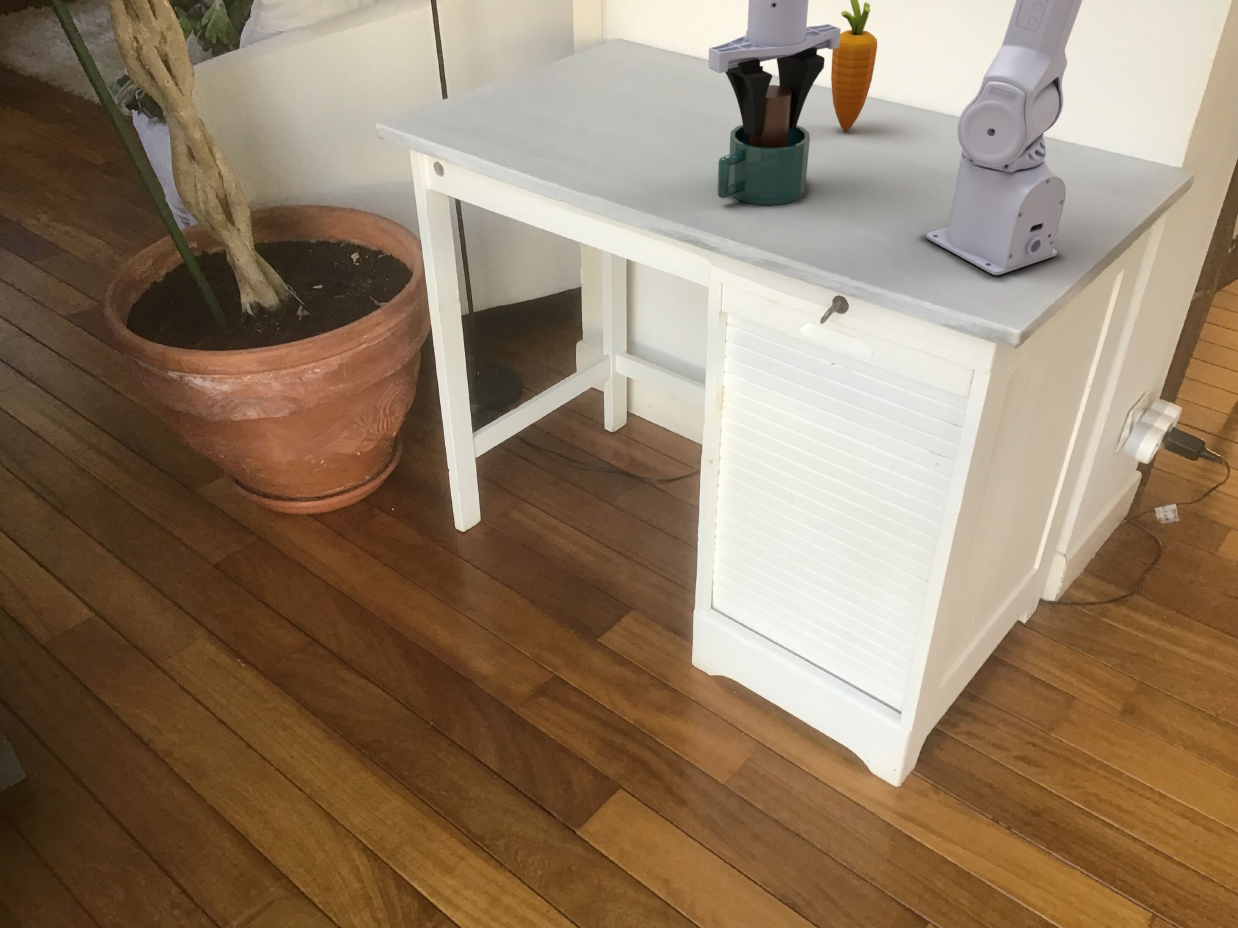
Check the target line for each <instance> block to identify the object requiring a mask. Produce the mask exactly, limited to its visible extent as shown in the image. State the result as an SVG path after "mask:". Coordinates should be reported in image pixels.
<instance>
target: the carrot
mask: <svg viewBox="0 0 1238 928" xmlns="http://www.w3.org/2000/svg"><path fill="white" fill-rule="evenodd" d="M849 1H850V4H851V9H852V12H853V15H852V13H851V12H849V11H847V10H844V11H841V13H840V15H841V16H842V17H843V18H845V19H846V20H847V22H848V24H849V26H850V27H851V29H847V30H844V31H843V32H840V40H839V48H836V49H832V55H831V73H830V81H831V83H830V84H831V94H832V95H831V97H832V104H833V108H834V113H835V116H836V118H837V120H838V123H839V126H840V128H841V129H842V130H843V131H844V132H848V131H849V130H850V129H851V128H852V127H853V126H854V124H855V122H856V121H857V120H858V117H859V116H860V114H861V112H862V110H863V108H864V106H865V103H866V100H867V97H868V95H869V90H870V87H871V84H872V80H873V77H874V76H873V75H874V70H875V64H876V58H877V57H876V56H877V50H878V39H877V37H875V35H874V34H872V33H871V32H869V31H867V30H864V29H865V26H866V24H867V21H868V19H869V14H870V12H871V5H870V4H869V2H864V3H863V8H862V12H861V7H860V2H859V0H849Z"/></svg>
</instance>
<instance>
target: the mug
mask: <svg viewBox="0 0 1238 928" xmlns="http://www.w3.org/2000/svg"><path fill="white" fill-rule="evenodd" d="M810 139H811V135H810V131H808V130H807V129H805V128H804V127H803V126H800V125H798V124H797V125H796V128H794V129H790V128H789V138H788V147H781V148H761V147H755V146H750V135H748V134H746V133H744V129H743V124H741V125H737V126H735V127H734V128H733V129H732V130H731V131H730V137H729V154H727V155H724V156H722V157H720V158H719V159H718V170H717V196H718V198H720V199H726V198H728V197H731V196H732V197H733V198H735V199H736V200H738V201H741V202H744V203H748V204H752V205H760V206H778V205H785V204H789V203H793V202H794V201H796V200H799V199H800V198H801V197H802V196H803V195H804V194H805V191H806V185H807V174H808V163H809V152H810V150H809V149H810V143H811V142H810Z"/></svg>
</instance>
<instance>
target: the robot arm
mask: <svg viewBox="0 0 1238 928" xmlns="http://www.w3.org/2000/svg"><path fill="white" fill-rule="evenodd" d="M1082 3H1083V0H1015V3H1014V6H1013V9H1012V12H1011V15H1010V18H1009V22H1008V26H1007V28H1006V32H1005V35H1004V38H1003V41H1002V44H1001V46H1000V48H999V50H998V51H997V53H996V55H995V57H994V59H993V60H992V62H991V64H990V66H988V69H987V70H986V72H985V74H984V76H983V79H982V82H981V86H980V88H979V90H978V92H977V94H976V95H975V97H974V98H973V99H972V100H971V101H970V102H969V103H968V104H967V105H966V106H965V108H964V109H963V111H962V112H961V115H960V116H959V119H958V123H957V138H958V142H959V145H960V147H961V150H962V151H961V153H960V154H961V155H960V161H959V165H958V171H957V175H956V176H957V177H956V181H955V186H954V193H953V198H952V204H951V209H950V214H949V219H948V225H947V226H946V227H942V228H938V229H936V230H933V231H929V232H927V233H926V239H927V240H929V241H931V242H933V243H934V244H936V245H938V246H940V247H941V248H944V249H945V250H947V251H949V252H951V253H953V254H955V255H957V256H958V257H960V258H962V259H964V260H965V261H967V262H969V263H971V264H972V265H974V266H976V267H978V268H980V269H982V270H984V271H986V272H987V273H989V274H991V275H993V276H1000V275H1003V274H1006V273H1009V272H1013V271H1015V270H1017V269H1021V268H1024V267H1027V266H1029V265H1033V264H1036V263H1039V262H1042V261H1045V260H1047V259H1051V258H1053V257H1056V256H1057V254H1058V250H1057V249H1056V248H1054V246H1055V245H1054V244H1055V240H1056V237H1057V233H1058V230H1059V225H1060V221H1061V217H1062V213H1063V210H1064V205H1065V203H1066V195H1067V188H1066V184H1065V182H1064V181H1063V179H1062V178H1061V177H1059V176H1058V175H1056V174H1055V173H1054V172H1052V170H1051V169H1050V168H1049V166H1048V165H1047V163H1046V160H1045V159H1046V156H1047V151H1046V144H1045V139H1044V133H1045V132H1047V131H1048V130H1050V129H1051V128H1052V127H1053V126H1054V125H1055V124H1056V123H1057V121H1058V120H1059V118H1060V117H1061V115H1062V111H1063V107H1064V93H1063V78H1064V74H1065V71H1066V69H1067V66H1068V59H1067V54H1066V47H1067V45H1068V41H1069V39H1070V36H1071V34H1072V30H1073V28H1074V25H1075V22H1076V19H1077V17H1078V14H1079V12H1080V8H1081V6H1082ZM808 11H809V0H748V9H747V12H748V13H747V28H746V31H745V35H742V36H740V37H737V38H735V39H733V40H730V41H728V42H725V43H722V44H719V45H717V46H713V47H709V48H708V69H709V70H711V71H714V72H716V73H718V74H723V73H724V74H725V75H726V77H727V78H728V81H729V83H730V85H731V88H732V89H733V92H734V95H735V97H736V100H737V104H738V105H737V106H738V108H739V112H740V116H741V123H742V125H743V129H744V133H746V134H748V135H750V136H752V137H753V138H757V137H760V135H761V132H762V126H763V112H764V104H765V99H766V94H767V90H768V87H769V85H771V82H772V79H773V74H772V73H770V72H768V71H766V70H764V66H763V65H761V63H762V62H766V61H772V60H776V65H777V72H778V81H779V83H778V84H779V86H783V87H787V88H789V89H790V90H791V91H792V98H791V111H790V124H789V128H790V129H794V128H796V125H798V122H799V119H800V116H801V113H802V110H803V108H804V105H805V103H806V99H807V97H808V95H809V93H810V91H811V88H812V87H813V85H814V83H815V82H816V80H817V78H818V77H819V75H820V74H821V72H823V70H824V68H825V59H826V58H825V57H824V56H823V55H820V54H818V50H819V51H820V50H824V49H828V50H833V49H836V48H839V40H840V34H841V32H842V31H841V27H838V26H835V25H832V24H830V23H827V24H820V25H812V26H808V25H807V24H808Z"/></svg>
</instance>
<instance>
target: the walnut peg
mask: <svg viewBox="0 0 1238 928" xmlns="http://www.w3.org/2000/svg"><path fill="white" fill-rule="evenodd" d="M791 98H792V91H791V90H790V89H789V88H787V87H783V86H780V85H775V84H769V87H768V90H767V94H766V99H765V104H764V112H763V126H762V132H761V135H760V137H757V138H753V137H752V136H750V146H755V147H761V148H781V147H788V138H789V124H790V111H791Z"/></svg>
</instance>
